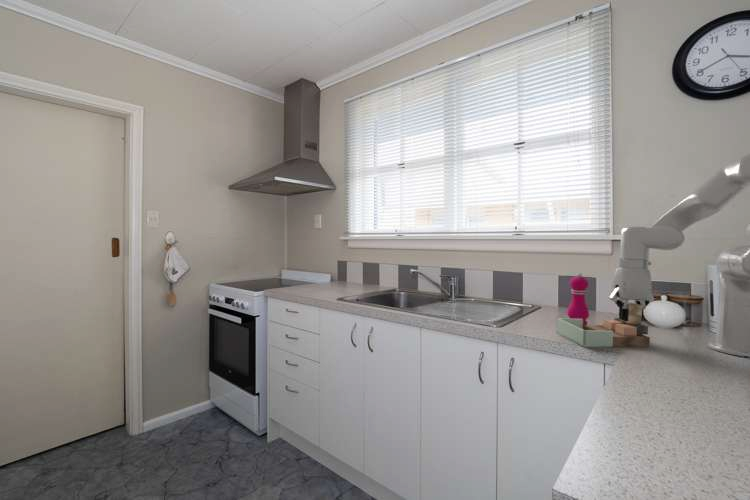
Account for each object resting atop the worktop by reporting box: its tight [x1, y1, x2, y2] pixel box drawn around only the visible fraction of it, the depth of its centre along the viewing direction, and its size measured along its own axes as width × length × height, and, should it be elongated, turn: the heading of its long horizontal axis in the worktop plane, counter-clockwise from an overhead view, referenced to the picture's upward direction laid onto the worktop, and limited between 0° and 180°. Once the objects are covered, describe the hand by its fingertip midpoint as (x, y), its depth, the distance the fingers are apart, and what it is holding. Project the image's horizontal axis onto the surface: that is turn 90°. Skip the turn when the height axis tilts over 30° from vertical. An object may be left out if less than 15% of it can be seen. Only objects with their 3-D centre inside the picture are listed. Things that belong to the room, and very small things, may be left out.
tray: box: [556, 317, 613, 348], centre depth 114 cm, size 9×16×5 cm, turn 0°
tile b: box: [602, 319, 623, 330], centre depth 117 cm, size 4×4×2 cm
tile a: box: [615, 324, 637, 335], centre depth 111 cm, size 4×4×2 cm
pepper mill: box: [566, 272, 590, 325], centre depth 132 cm, size 7×7×20 cm
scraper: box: [613, 302, 649, 335], centre depth 114 cm, size 4×11×8 cm, turn 0°
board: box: [583, 324, 651, 348], centre depth 114 cm, size 12×14×3 cm
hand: (630, 319), depth 114 cm, fingers closed on scraper, 4 cm apart
